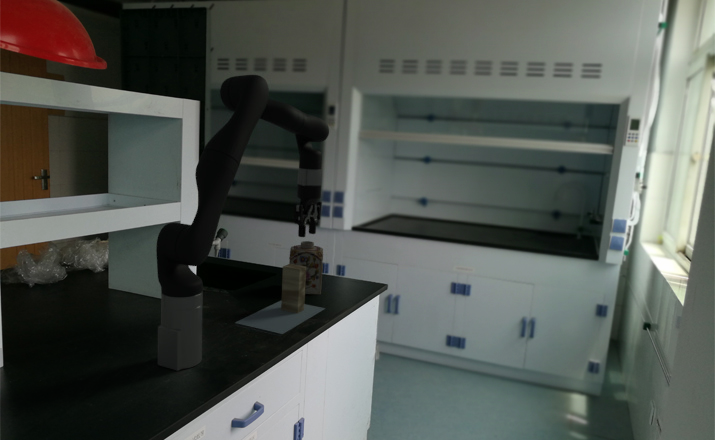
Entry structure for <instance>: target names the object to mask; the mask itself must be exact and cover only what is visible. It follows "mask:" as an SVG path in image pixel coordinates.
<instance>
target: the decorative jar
mask: <svg viewBox="0 0 715 440" xmlns="http://www.w3.org/2000/svg"><path fill="white" fill-rule="evenodd" d="M289 250H290V251H289V258H288V260H289V262H288V264H293V265H299V266H305V267H306V283H305V295H321V293H322V285H323V281H322V280H323V271H324V270H323V269H324V268H323V265H324V264H323V262H324V248H323V247H321V246H318V245H317V246H316V245H315V243H314V242H313V241H311V240H306V241H305V240H304V241H301V242H300V244H298V245H292V246H291V247H290V249H289Z"/></svg>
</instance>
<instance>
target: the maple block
mask: <svg viewBox="0 0 715 440" xmlns="http://www.w3.org/2000/svg"><path fill="white" fill-rule="evenodd" d="M281 280H282V281H281V300H282V301H281V300H280V301H281V310H284V311H289V312H294V313H299V312H301V311H303V310H304V304H306V303H305V300H306V294H305V283H306V267H305V266H299V265H293V264H289V263H288V264H286V265H283V266H282V279H281Z"/></svg>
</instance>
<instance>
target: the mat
mask: <svg viewBox="0 0 715 440" xmlns="http://www.w3.org/2000/svg"><path fill="white" fill-rule="evenodd" d="M281 301H282V299H281V300H279V301H277V302H275V303H273V304H271V305H269V306H266V307H264V308H262V309H260V310H258V311H256V312H254V313H252V314H250V315H248V316H246V317H244V318H241V319H240V320H237V321H236V322H235V321H234V326H236V327H240V328H245V329H247V330H253V331H257V332H261V333H265V334H269V335H274V336H277V337H284V336H283V335H284V334H285V333H287V332H288V331H290V330H292V329H294V328H295V327H297V326H298V325H300V324H302V323H303V322H306V321H307V320H309V319H310V318H312V317H314V316H316V315H317V314H319V313H320V312H322V311H324V310H325V309H326V307H320V306H315V305H312V304H306V303H304V310H303V311H301V312H299V313H294V312H289V311H284V310H281ZM255 328H256V329H255ZM276 333H277V334H276Z"/></svg>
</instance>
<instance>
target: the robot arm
mask: <svg viewBox="0 0 715 440" xmlns="http://www.w3.org/2000/svg"><path fill="white" fill-rule="evenodd" d="M269 94H270V90H269V84H268V82H267V80H266V79H265V78H264V77H263V76H261V75H257V74H245V75H243V74H242V75H235V76H230V77H228V78H226V79H224V80H223V82H222V83H221V85H220V89H219V95H220V100H221V102H222V104H223V105H224V106H225V108H227V109H228V110H229V111H231V112H233V114H232V115H231V117H230V119H229V120H227V122H226V123H225V124H224V125H223V126H222V127H221V128H220V129H219V130H217V132H216V133H215V134H214V135H213V136H212V137H211V139H209V140H208V141H207V143H206V144H205V146H204V148H203V150H202V153H201V154H200V157H199V159H198V162H197V165H196V168H195V175H194V176H195V183H196V188H197V194H198V207H197V209H196V212H195V213H196V214H195V215H194V218H193V221H192V223H191V224H187V223H182V222H181V223H180V222H168V223H166V224H165V225H164V226H163V227H162V228H161V229H160V230H159V232H158V235H157V239H156V250H155V251H156V267H157V268H156V269H157V280H158V283H159V284H160V289H161V291H160V292H161V295H160V298H161V299H160V300H161V301H160V307H161V309H160V325H158V326H157V366H160V367H163V368H167V369H171V370H174V371H177V372H178V371H181V370H184V369H189V368H192V367H195V366H197V365H199V364H200V363H201V362H202V357H203V355H202V354H203V343H202V342H203V296H204V295H203V294H204V293H203V291H204V289H203V288H204V284H203V283H204V282H203V279H202V278H201V277H200V276H198V275H197V274H196V273H195V272H193V270H192V269H191V268H190V267H197V266H200V265H202V264H203V263H204V262H206V260H207V258H209V255H210V252H211V251H212V247H213V245H214V241H215V238H216V233H217V231H218V226H219V222H220V219H221V216H222V211H223V209H224V206H225V203H226V201H227V199H228V198H227V197H228V195H229V192H230V189H231V187H232V185H233V183H234V181H235V178H236V175H237V173H238V170H239V167H240V165H241V162H242V158H243V156H244V153H245V151H246V148H247V146H248V144H249V141H250V139H251V136H252V134H253V133H254V129H255V128H256V127H257V124H258V122H259V121H260V120H262V121H264V122H268V123H269V124H273V125H274V126H277V127H278V128H281V129H282V130H285V131H286V132H289V133H292V134H294V136H295V140H296V144H297V150H298V154H299V162H298V172H297V182H296V183H297V187H296V197H297V198H298V199H300V201H299V204H294V206H293V207H294V208H293V210H294V214H293V215H294V217H293V218H294V220H293V221H294V224H296V225H298V232H297V234H298V237H299V238H306V233H307V232H306V231H307V229H306V228H307V226H306V224H307V222H308V221H309V222H308V234H309V235H315V234H316V232H317V223H318V221H320V220H321V214H322V204H323V203H322V201H318V200H319V199H321V196H322V182H323V181H322V179H323V178H322V177H323V176H322V175H323V174H322V161H323V154H322V152H321V151H320V150H317V149H315V148H313V145H312V143H322V142H324V141H325V140H327V139H328V137H329V134H330V128H329V125H328V123H327V122H326V121H325V120H324V119H322V118H320V117H318V116H315V115H312V114H308V113H305V112H303V111H301V110H300V109H298V108H296V107H294V105H290V104H288V103H286V102H283V101H279V100H276V99H275V100H274V99H271V98H270V97H269Z"/></svg>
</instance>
